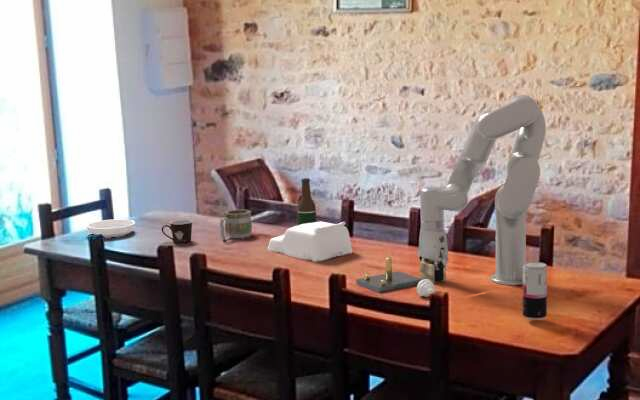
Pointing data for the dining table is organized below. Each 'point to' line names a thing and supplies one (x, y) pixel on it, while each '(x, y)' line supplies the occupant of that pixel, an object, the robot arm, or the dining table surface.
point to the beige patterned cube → (430, 271)
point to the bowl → (111, 227)
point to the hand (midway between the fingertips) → (432, 278)
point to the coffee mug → (180, 231)
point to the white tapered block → (313, 241)
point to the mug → (236, 224)
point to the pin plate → (388, 280)
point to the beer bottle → (306, 205)
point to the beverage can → (534, 290)
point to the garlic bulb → (425, 288)
